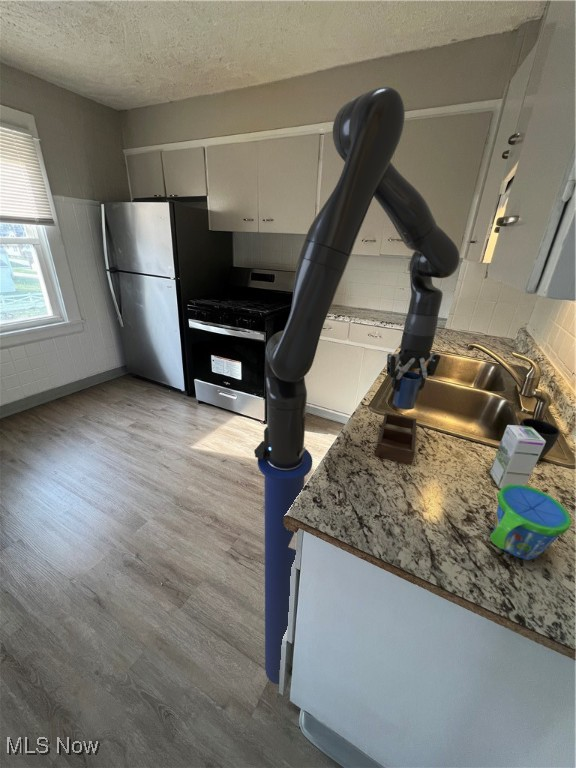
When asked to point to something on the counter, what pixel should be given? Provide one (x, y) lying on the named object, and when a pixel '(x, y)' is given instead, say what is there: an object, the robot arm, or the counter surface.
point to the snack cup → (527, 521)
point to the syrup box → (516, 456)
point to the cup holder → (397, 438)
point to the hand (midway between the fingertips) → (406, 389)
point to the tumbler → (408, 391)
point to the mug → (542, 433)
